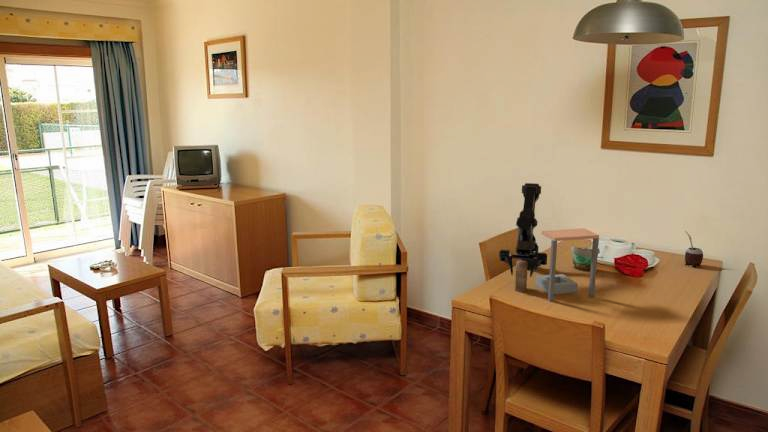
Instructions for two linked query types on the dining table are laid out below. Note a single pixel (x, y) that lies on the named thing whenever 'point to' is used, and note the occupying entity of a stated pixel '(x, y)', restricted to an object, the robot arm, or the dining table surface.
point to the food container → (582, 258)
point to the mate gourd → (693, 255)
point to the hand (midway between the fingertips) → (521, 275)
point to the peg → (521, 276)
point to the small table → (560, 281)
